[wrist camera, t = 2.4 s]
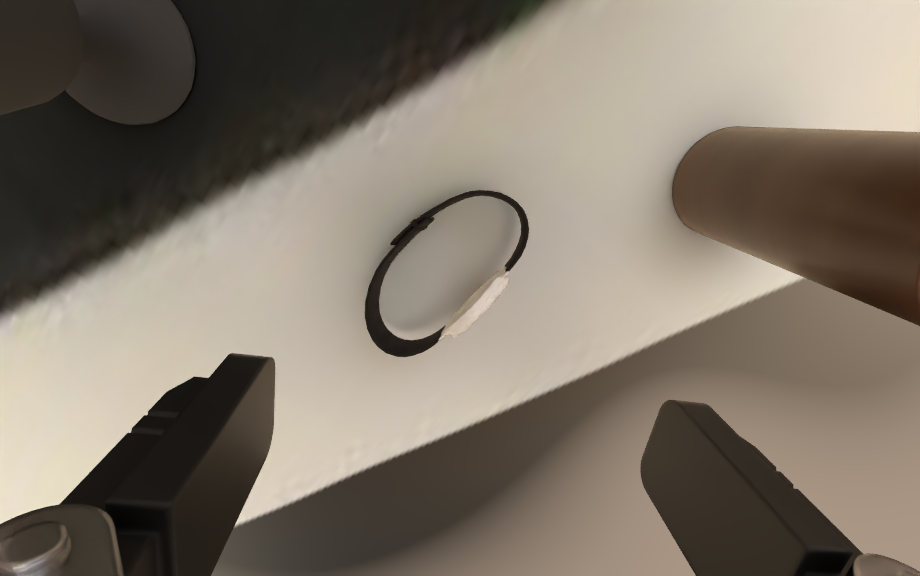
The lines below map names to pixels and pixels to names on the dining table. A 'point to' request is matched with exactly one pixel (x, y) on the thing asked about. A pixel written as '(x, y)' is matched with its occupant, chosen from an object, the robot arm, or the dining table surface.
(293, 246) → the dining table surface
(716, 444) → the robot arm
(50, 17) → the sundae
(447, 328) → the watch
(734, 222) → the pepper mill
